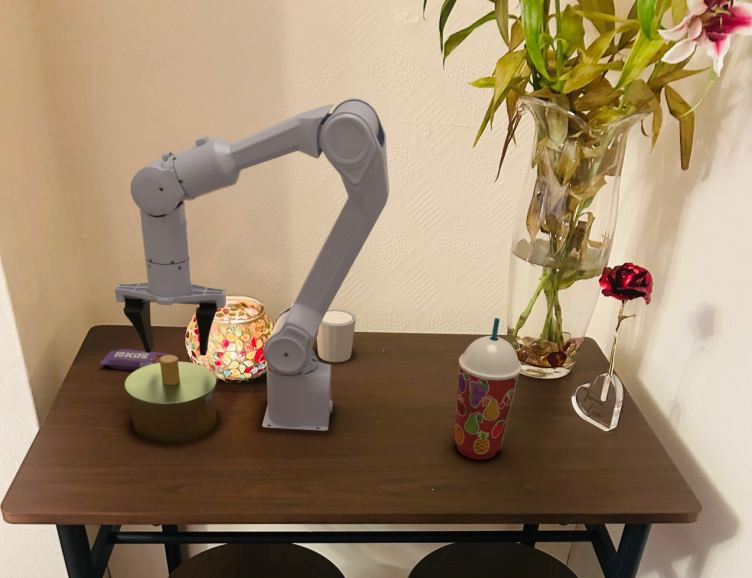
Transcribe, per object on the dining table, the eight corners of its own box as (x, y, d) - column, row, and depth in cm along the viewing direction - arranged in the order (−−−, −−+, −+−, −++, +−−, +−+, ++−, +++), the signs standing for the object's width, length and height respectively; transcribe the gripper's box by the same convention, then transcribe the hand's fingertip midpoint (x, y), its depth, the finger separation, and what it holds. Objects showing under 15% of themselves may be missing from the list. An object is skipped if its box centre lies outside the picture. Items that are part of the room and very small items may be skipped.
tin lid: (224, 370, 113) (222, 341, 111) (207, 412, 103) (205, 382, 101) (139, 365, 113) (135, 336, 110) (114, 407, 103) (109, 376, 100)
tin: (222, 406, 116) (220, 367, 113) (208, 447, 107) (204, 407, 103) (145, 401, 116) (140, 363, 112) (123, 442, 107) (117, 402, 103)
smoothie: (511, 441, 113) (534, 313, 102) (499, 471, 106) (523, 337, 95) (456, 429, 115) (473, 302, 104) (440, 457, 108) (457, 324, 97)
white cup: (314, 346, 136) (314, 308, 132) (353, 346, 136) (354, 309, 132) (315, 363, 130) (315, 324, 126) (356, 364, 131) (357, 325, 127)
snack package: (97, 358, 123) (110, 345, 127) (99, 369, 124) (111, 356, 128) (169, 365, 122) (179, 352, 126) (170, 376, 123) (180, 363, 127)
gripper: (103, 264, 99) (117, 360, 106) (217, 271, 99) (223, 366, 107) (118, 246, 105) (130, 339, 112) (226, 252, 105) (231, 344, 113)
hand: (176, 351), depth 110 cm, fingers open, 7 cm apart
